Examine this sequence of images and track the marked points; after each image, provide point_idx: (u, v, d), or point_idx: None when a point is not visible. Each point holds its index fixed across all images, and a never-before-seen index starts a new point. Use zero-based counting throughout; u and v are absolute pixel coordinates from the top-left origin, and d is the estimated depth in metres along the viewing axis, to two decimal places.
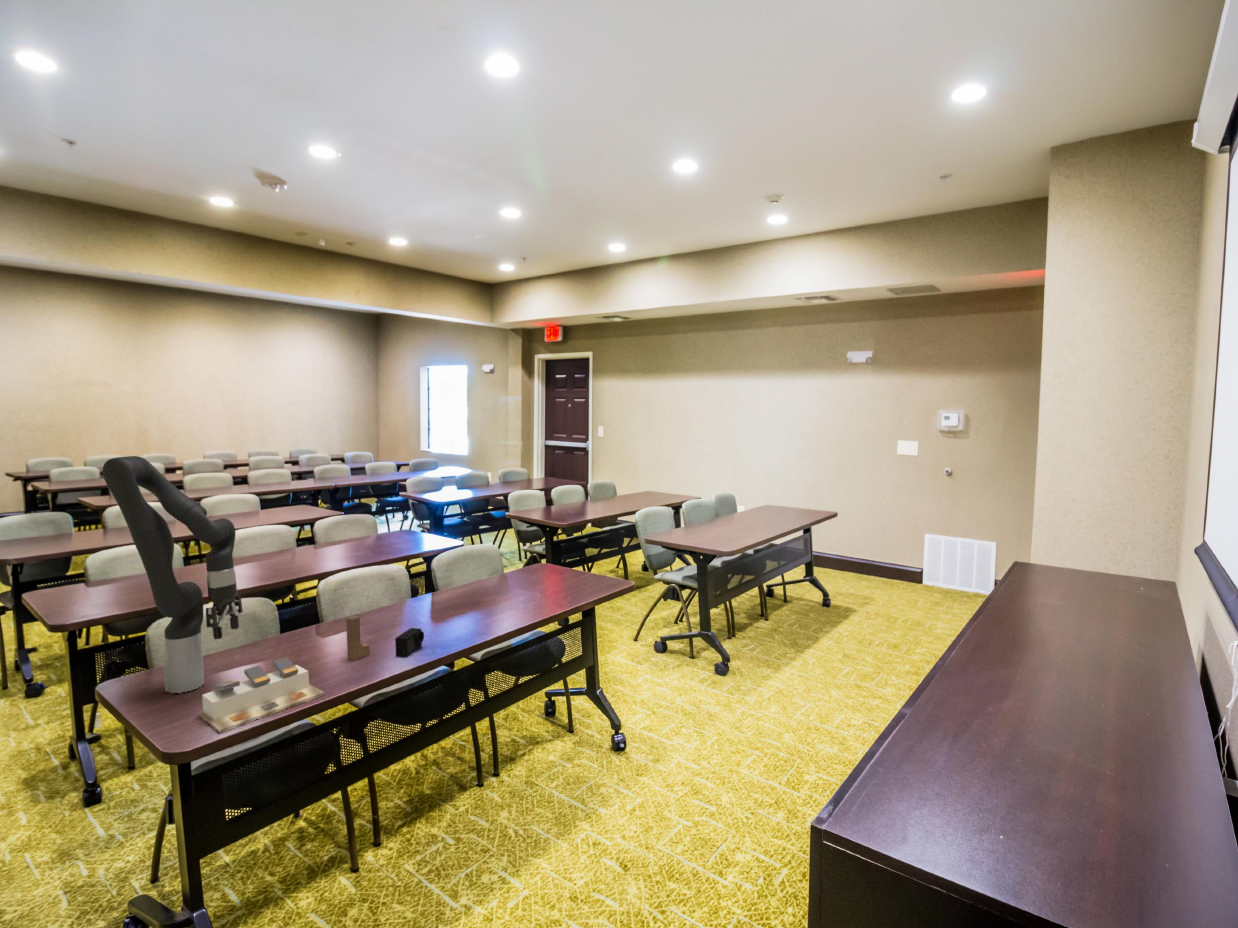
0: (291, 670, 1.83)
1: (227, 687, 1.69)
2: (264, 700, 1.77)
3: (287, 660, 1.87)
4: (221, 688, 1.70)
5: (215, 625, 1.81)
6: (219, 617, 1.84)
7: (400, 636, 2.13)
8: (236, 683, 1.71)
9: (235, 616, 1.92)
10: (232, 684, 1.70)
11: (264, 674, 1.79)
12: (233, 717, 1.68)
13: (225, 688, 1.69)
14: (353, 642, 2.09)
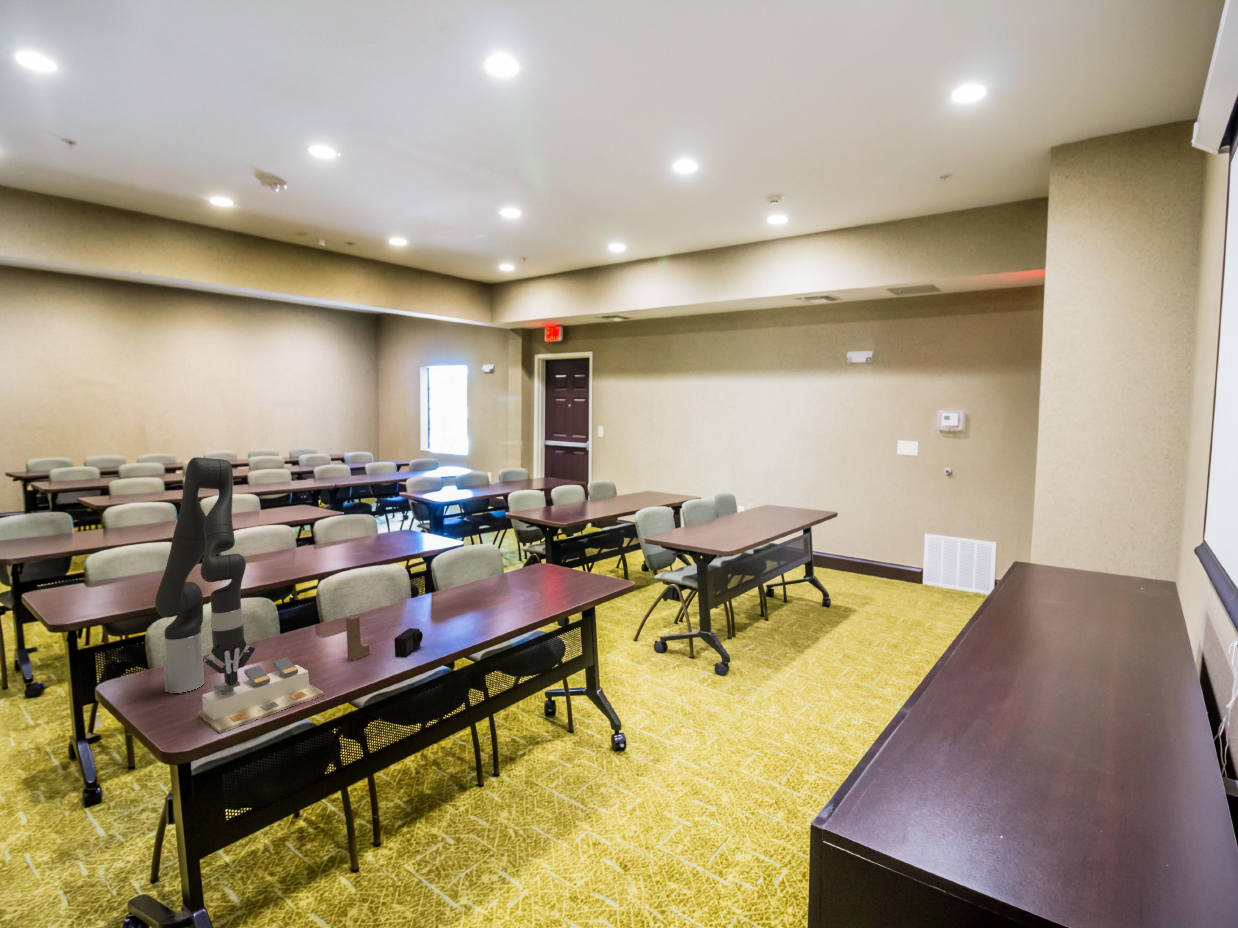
0: (291, 670, 1.83)
1: (227, 688, 1.69)
2: (264, 700, 1.77)
3: (287, 660, 1.87)
4: (221, 688, 1.70)
5: None
6: None
7: (399, 636, 2.13)
8: (236, 683, 1.71)
9: None
10: None
11: (264, 674, 1.79)
12: (233, 717, 1.68)
13: (225, 688, 1.69)
14: (353, 642, 2.09)
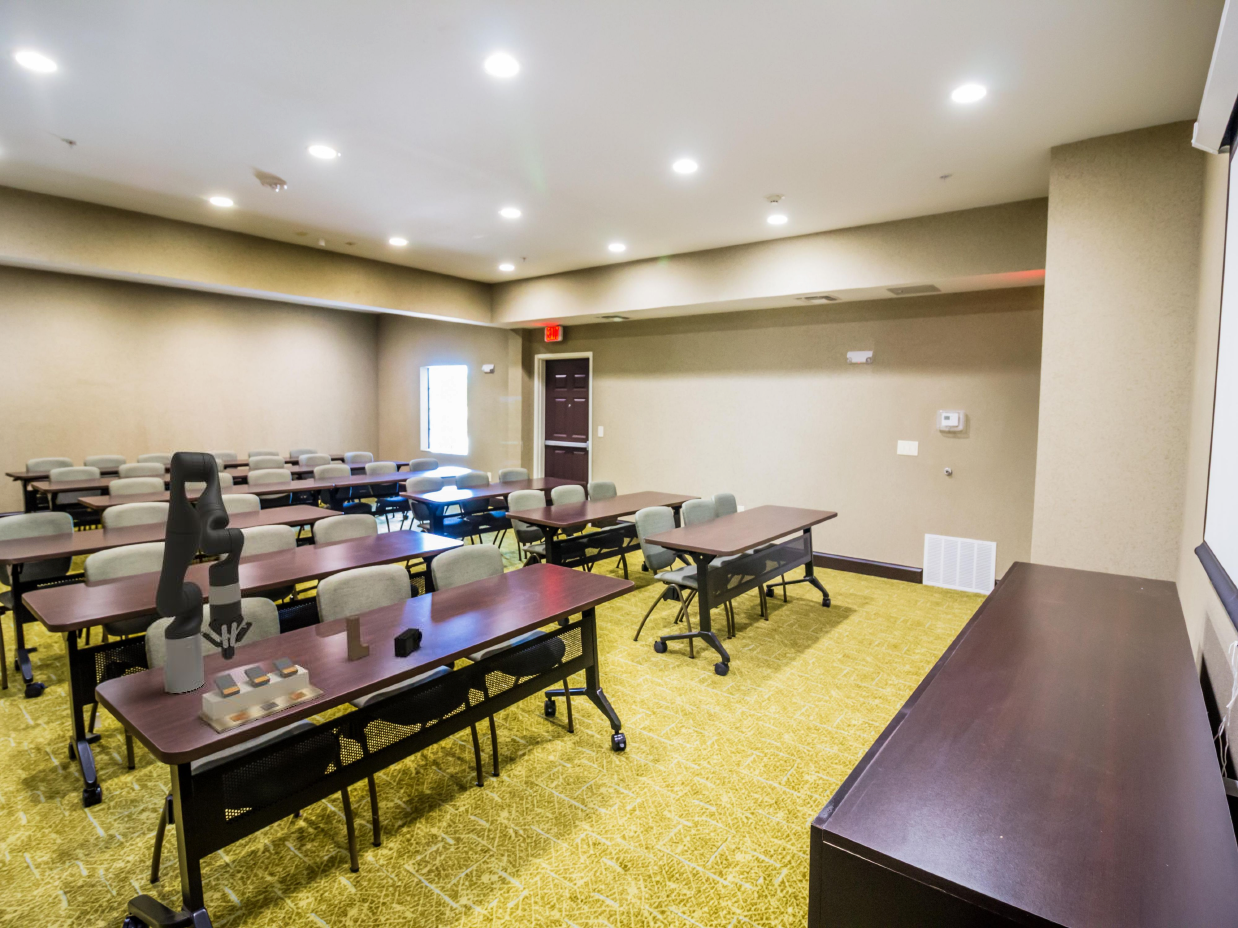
0: (291, 670, 1.83)
1: (227, 696, 1.69)
2: (264, 700, 1.77)
3: (287, 660, 1.87)
4: (221, 692, 1.70)
5: None
6: None
7: (399, 636, 2.13)
8: (236, 691, 1.71)
9: None
10: (233, 692, 1.70)
11: (264, 674, 1.79)
12: (233, 717, 1.68)
13: (225, 696, 1.69)
14: (353, 642, 2.09)
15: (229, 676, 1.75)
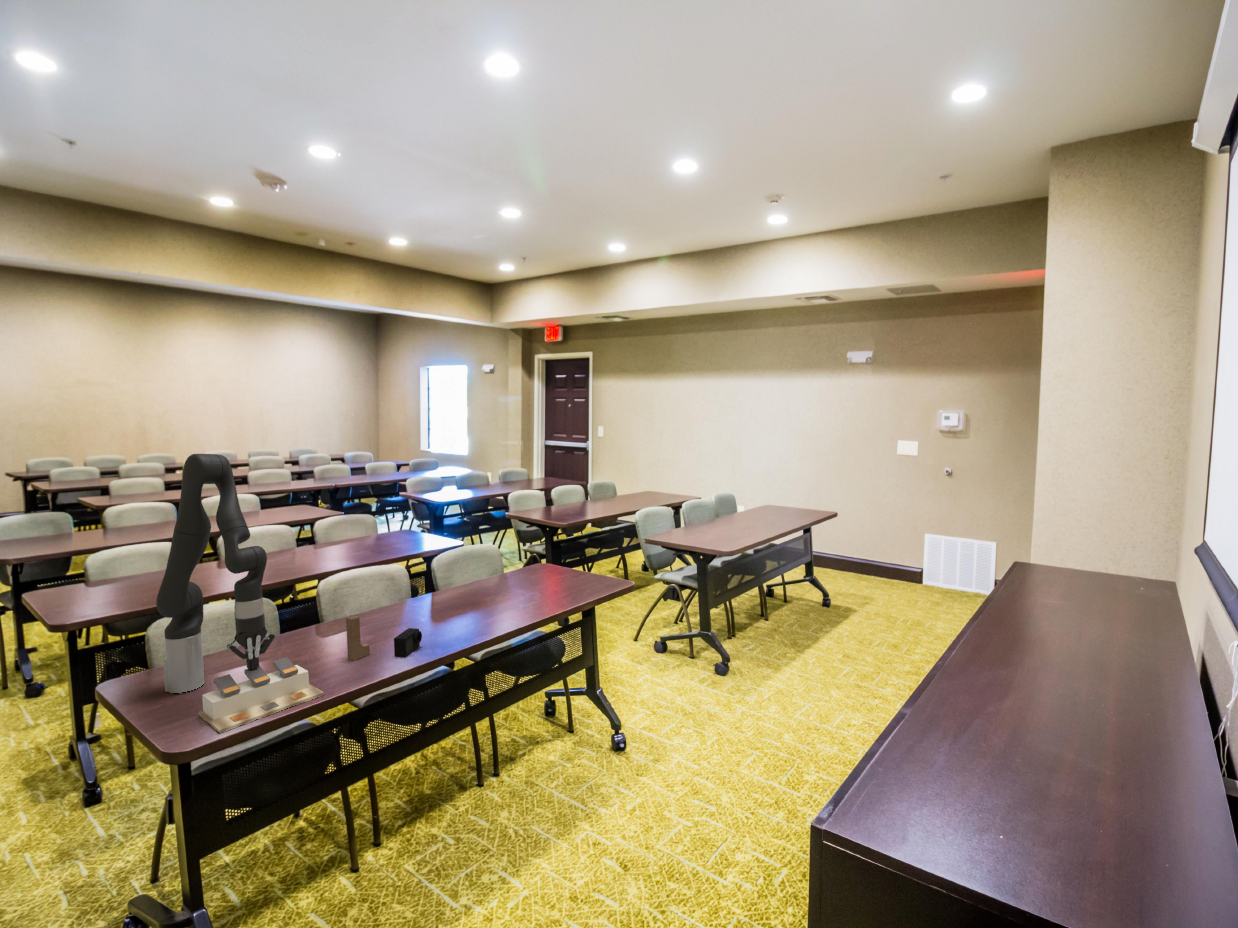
0: (291, 670, 1.83)
1: (227, 695, 1.69)
2: (264, 700, 1.77)
3: (287, 660, 1.87)
4: (221, 692, 1.70)
5: None
6: None
7: (398, 636, 2.13)
8: (237, 690, 1.71)
9: None
10: (233, 691, 1.70)
11: (264, 674, 1.79)
12: (233, 717, 1.68)
13: (225, 695, 1.69)
14: (353, 642, 2.09)
15: (229, 677, 1.75)
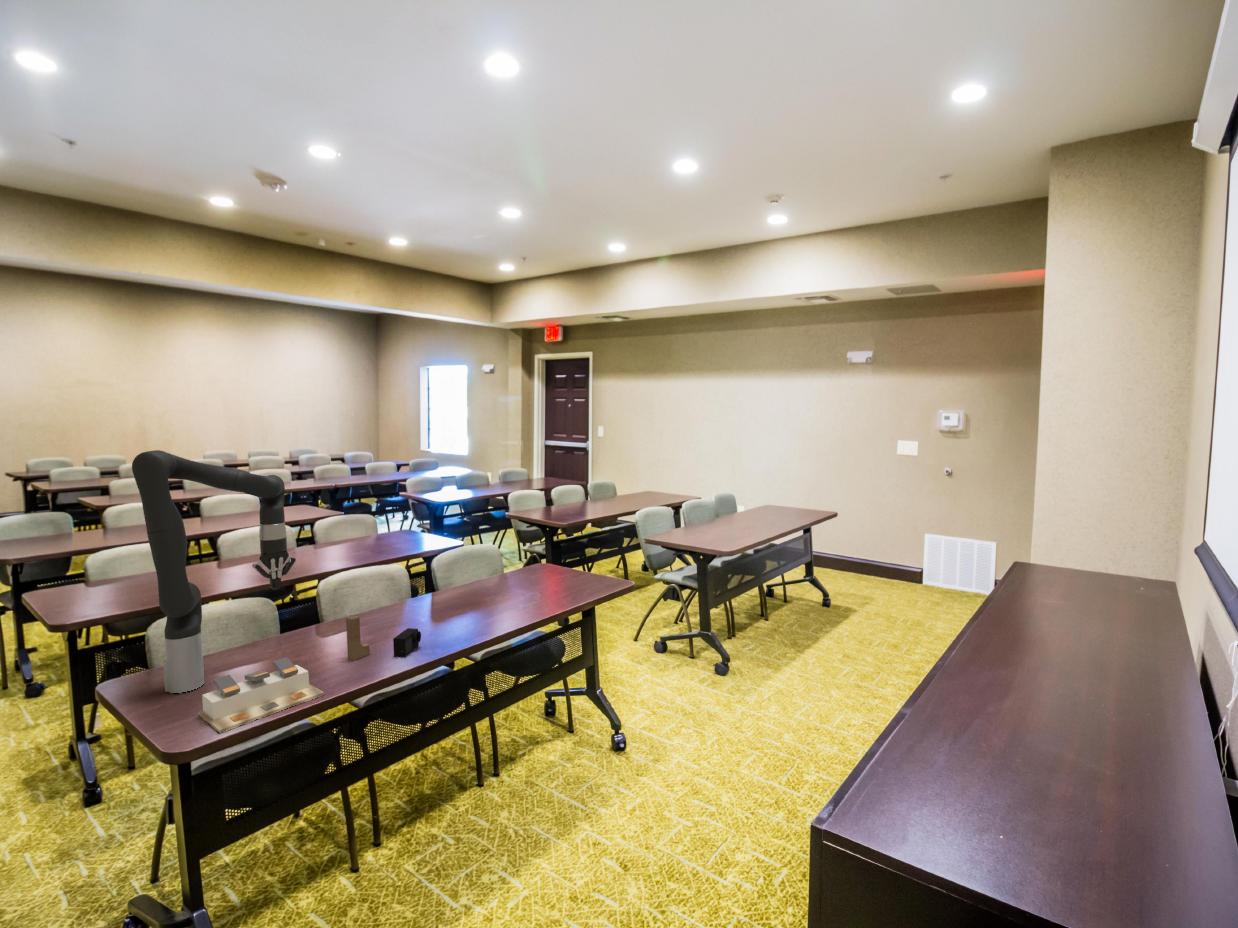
0: (291, 670, 1.83)
1: (227, 694, 1.69)
2: (264, 700, 1.77)
3: (287, 660, 1.87)
4: (221, 691, 1.70)
5: None
6: None
7: (398, 636, 2.13)
8: (237, 690, 1.71)
9: None
10: (233, 691, 1.70)
11: (264, 672, 1.79)
12: (233, 717, 1.68)
13: (225, 695, 1.69)
14: (353, 642, 2.09)
15: (229, 677, 1.75)
